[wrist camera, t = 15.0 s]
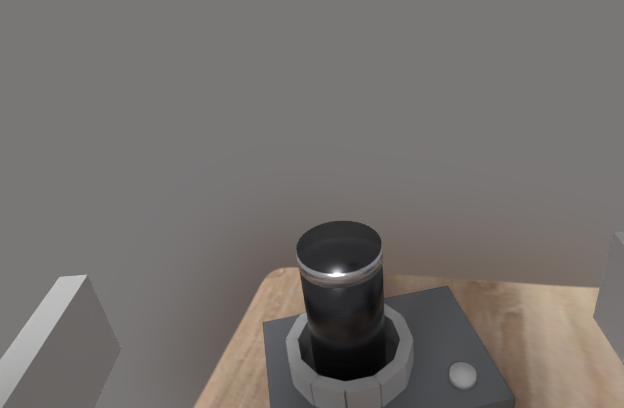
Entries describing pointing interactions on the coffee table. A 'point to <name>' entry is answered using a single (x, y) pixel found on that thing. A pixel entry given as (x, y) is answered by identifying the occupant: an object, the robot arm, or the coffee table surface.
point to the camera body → (393, 362)
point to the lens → (344, 299)
